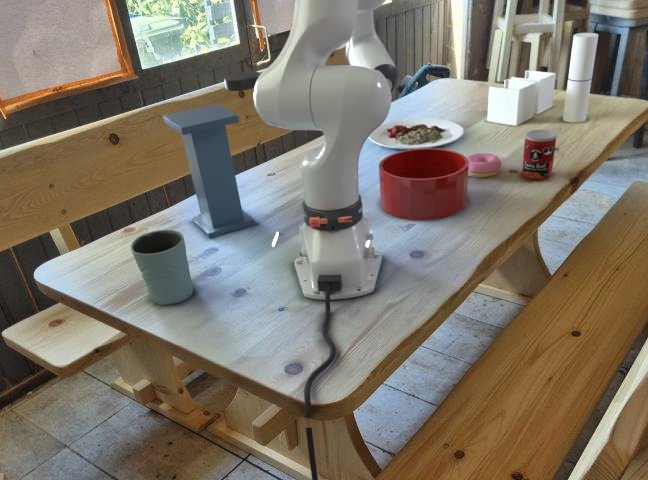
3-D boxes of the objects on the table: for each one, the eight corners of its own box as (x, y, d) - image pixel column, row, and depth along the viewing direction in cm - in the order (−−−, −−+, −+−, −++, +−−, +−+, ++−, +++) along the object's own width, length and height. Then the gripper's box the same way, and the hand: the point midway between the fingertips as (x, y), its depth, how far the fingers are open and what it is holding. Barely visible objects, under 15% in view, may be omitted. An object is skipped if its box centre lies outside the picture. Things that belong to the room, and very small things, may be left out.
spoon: (292, 72, 144) (291, 62, 142) (306, 76, 139) (305, 66, 138) (221, 87, 136) (219, 77, 135) (233, 92, 132) (231, 82, 130)
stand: (237, 207, 156) (216, 103, 140) (258, 224, 147) (238, 115, 131) (189, 221, 151) (162, 115, 135) (208, 239, 142) (181, 128, 126)
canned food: (518, 179, 159) (521, 137, 152) (526, 169, 164) (530, 128, 158) (547, 182, 155) (552, 140, 149) (554, 172, 161) (559, 130, 154)
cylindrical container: (562, 122, 195) (573, 37, 180) (563, 115, 200) (573, 33, 185) (585, 122, 193) (598, 36, 178) (585, 116, 198) (598, 32, 184)
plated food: (462, 153, 178) (462, 141, 176) (362, 154, 183) (362, 143, 181) (464, 123, 201) (464, 112, 199) (376, 125, 206) (375, 114, 204)
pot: (474, 216, 142) (476, 175, 136) (384, 223, 142) (382, 183, 136) (458, 182, 159) (460, 145, 154) (378, 189, 160) (376, 152, 154)
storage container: (516, 125, 195) (519, 90, 189) (487, 121, 201) (488, 86, 195) (552, 106, 210) (556, 73, 203) (524, 102, 216) (526, 70, 209)
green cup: (178, 276, 128) (163, 225, 121) (208, 290, 122) (194, 237, 115) (137, 298, 122) (119, 245, 115) (167, 313, 116) (150, 258, 109)
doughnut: (489, 182, 158) (490, 166, 156) (453, 175, 164) (453, 160, 161) (508, 169, 165) (509, 154, 163) (473, 162, 171) (473, 148, 168)
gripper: (315, 72, 154) (269, 51, 145) (358, 85, 140) (309, 63, 131) (307, 97, 156) (261, 77, 147) (348, 112, 142) (300, 92, 133)
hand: (284, 70), depth 139 cm, fingers closed on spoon, 2 cm apart
